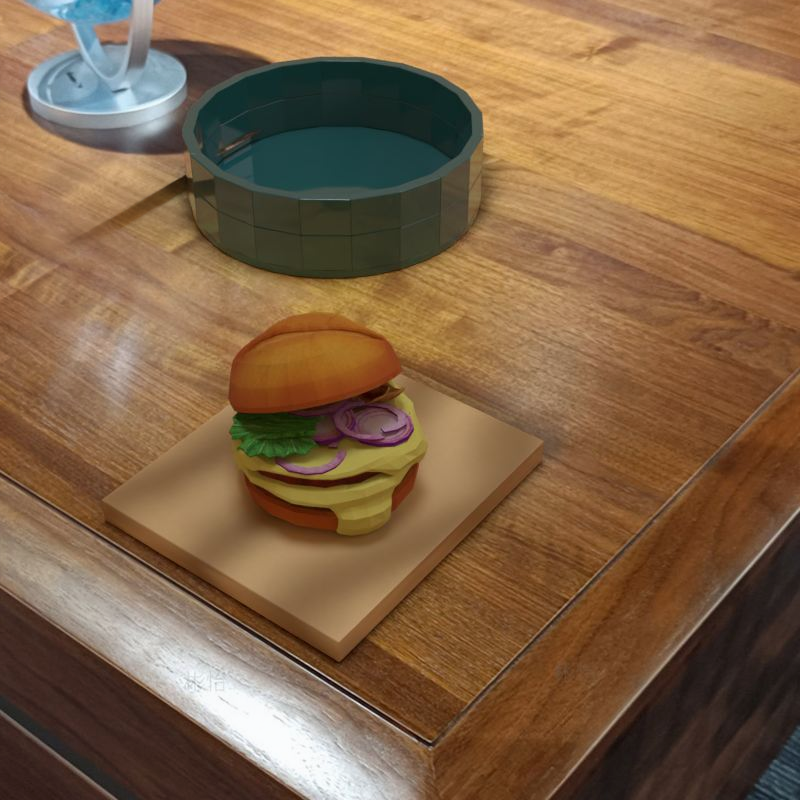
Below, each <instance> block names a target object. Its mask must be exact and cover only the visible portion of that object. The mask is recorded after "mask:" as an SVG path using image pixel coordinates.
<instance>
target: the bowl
mask: <svg viewBox="0 0 800 800" xmlns="http://www.w3.org/2000/svg"><path fill="white" fill-rule="evenodd" d="M483 115H484V114H483V112H482V111H481V109H480V108H479V106H477V104H476V103H475V101H474V100H473V98H472V97H471V96H470V95H469V93H468V92H467V91H466V90H464V89H463V88H461V87H459V86H458V85H456V84H455V83H453V82H451V81H450V80H448V79H447V78H445V77H443V76H442V75H439V74H437V73H434V72H431V71H428V70H426V69H422V68H419V67H417V66H413V65H411V64H408V63H404V62H400V61H399V62H398V61H392V60H386V59H377V58H372V57H365V56H313V57H305V58H298V59H291V60H284V61H277V62H276V61H275V62H272V63H269V64H265V65H262V66H259V67H256V68H253V69H249V70H246V71H242V72H239V73H237V74H235V75H233V76H231V77H230V78H227V79H225V80H224V81H222V82H220V83H218V84H216V85H214V86H213V87H210V88H208V89H207V91H205V92H204V93H203V95H201V96H200V98H198V99H197V101H195V102H194V103H193V104H192V105H191V106H190V107H189V108H188V110H187V114H186V117H185V120H184V124H183V127H182V129H181V136H182V137H181V139H182V148H183V157H184V164H185V165H184V167H185V175H186V184H187V193H188V201H189V203H190V206H191V212H192V217H193V219H194V221H195V224H196V226H197V228H198V229H199V231H200V232H201V233H202V235H203V236H204V237H205V238H206V239H207V240H208V241H209V242H210V244H212V245H213V246H215V247H216V248H217V249H219V250H220V251H221V252H223V253H224V254H226V255H228V256H230V257H231V258H234V259H236V260H237V261H239V262H242V263H245V264H248V265H249V266H253V267H255V268H259V269H262V270H265V271H269V272H273V273H277V274H283V275H289V276H295V277H305V278H318V279H344V278H346V279H347V278H359V277H367V276H374V275H375V276H376V275H379V274H385V273H391V272H395V271H397V270H398V271H399V270H401V269H405V268H408V267H411V266H414V265H417V264H419V263H422V262H424V261H427V260H428V259H432V258H433V257H435V256H437V255H439V254H441V253H442V252H444V251H446V250H447V249H449V248H450V247H453V245H454V244H455V243H456V242H458V241H459V240H460V239H461V238H462V237H463V236H465V234H466V233H467V232H468V231H469V230H470V228H471V227H472V225H473V224H474V221H475V220H476V218H477V216H478V213H479V208H480V205H481V202H482V184H483V183H482V182H483V164H484V163H483V162H484V161H483V160H484V140H485V139H484V138H485V137H484V136H485V132H484V117H483ZM254 133H255V134H254ZM251 134H253V135H251ZM249 135H251V136H249ZM247 136H249V137H248V138H246V139H245V137H247ZM242 139H245V140H242ZM240 140H242V141H241V142H239V143H237V144H235V143H236V142H238V141H240ZM233 144H235V145H234V146H232V147H230V148H228V147H229V146H231V145H233ZM226 148H228V149H227V150H224V149H226ZM223 150H224V152H222V151H223ZM221 152H222V153H221Z"/></svg>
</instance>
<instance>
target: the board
mask: <svg viewBox="0 0 800 800" xmlns="http://www.w3.org/2000/svg"><path fill="white" fill-rule="evenodd" d="M392 380H393V381H394V382H395V383H396V385H397V386H398V387H399V388H400V389H401V388H402V387H403V386H404V387H405V390H404V391H403V393H404V394H405V395H406V396H407V397H408V398H409V399H410V400H411V401H412V402H413V405H414V409H415V413H416V416H417V418H418V421H419V423H420V425H421V428H422V430H423V432H424V435H425V437H426V439H427V442H428V446H427V451H426V453H425V457H424V458H423V460H422V461H421V462H419V468H418V471H417V475H416V479H415V483H414V487H413V489H412V490H411V492H410V493H409V494H408V495H407V496H406V498H405V499H404V500H403V501H402V502H401V503H400V505H399V506H398V507H397V508H396V509H395V510H394V511H392V512H391V516H390V519H389V520H388V521H387V522H386V523H385V524H384V525H383V526H382V527H381V528H379V529H377V530H375V531H372V532H370V533H368V534H363V535H354V536H350V535H343V534H338V533H337V532H336V530H326V529H319V528H312V527H306V526H299V525H296V524H293V523H291V522H288V521H286V520H283V519H281V518H278V517H276V516H273V515H271V514H269V513H268V512H267V511H266V510H265V509H263V508H262V507H261V506H260V505H259V504H258V503H256V502H255V501H254V500H253V498H252V496H251V494H250V492H249V490H248V488H247V486H246V482H245V477H244V472H243V470H242V469H241V470H239V469H237V464H236V463H235V461H234V452H233V449H232V445H233V441H234V440H232V435H231V434H230V433H229V431H230V429H231V427H232V425H233V423H234V421H233V419H232V418H233V417H234V416H235V415H236V413H237V412H236V411H234V409H233V408H232V406H231V404H230V403H229V404H227V405H226V406H225V407H223V408H222V409H221V410H219V411H218V412H217V413H216V414H214V415H213V416H211V417H210V418H209V419H207V420H206V421H204V422H203V423H202V424H201V425H199V426H198V427H197V428H195V429H194V430H192V431H191V432H190V433H189V434H187V435H186V436H185V437H183V438H182V439H181V440H179V441H178V442H177V443H175V444H174V445H173V446H171V447H169V449H168V450H166V451H164V452H163V453H162V454H160V455H159V456H158V457H157V458H155V459H154V460H152V461H151V462H150V463H148V464H147V465H145V466H144V467H143V468H142V469H140V470H139V471H138V472H137V473H135V474H134V475H132V476H131V477H130V478H129V479H127V480H126V481H124V482H123V483H122V484H121V485H118V487H116V488H115V489H114V490H113V491H111V492H110V493H108V494H107V495H106V496H104V497H103V498H102V499H101V506H102V507H101V508H102V513H103V516H104V520H105V521H106V522H107V523H109V524H111V525H112V526H114V527H116V528H118V529H119V530H120V531H123V532H124V533H126V534H128V535H129V536H131V537H132V538H134V539H136V540H137V541H139V542H140V543H142V544H144V545H146V546H147V547H149V548H151V550H153V551H155V552H157V553H159V554H160V555H162V556H164V557H165V558H167V559H169V560H170V561H172V562H173V563H175V564H177V565H178V566H180V567H181V568H183V569H185V570H187V571H188V572H190V573H191V574H193V575H195V576H196V577H198V578H200V579H201V580H203V581H204V582H206V583H208V584H210V585H211V586H213V587H215V588H216V589H218V590H219V591H221V592H223V593H224V594H226V595H228V596H229V597H231V598H232V599H234V600H235V601H238V602H239V603H241V604H243V606H246V607H247V608H249V609H251V610H252V611H254V612H256V613H257V614H259V615H261V616H262V617H264V618H266V619H267V620H268V621H271V622H272V623H274V624H275V625H276V626H279V627H280V628H282V629H283V630H285V631H287V632H289V633H290V634H291V635H293V636H295V637H297V638H298V639H300V640H302V641H303V642H305V643H306V644H308V645H310V646H312V647H313V648H315V649H316V650H318V651H320V652H322V654H324V655H326V656H328V657H330V658H331V659H332V660H335V661H336V662H338V663H340V662H341V661H342V660H344V658H345V657H346V656H347V655H349V653H350V652H352V650H354V649H355V648H356V646H357V645H358V644H360V642H362V641H363V640H364V639H365V638H366V637H367V636H368V635H369V634H370V633H371V631H373V630H374V629H375V628H376V626H378V625H379V624H380V623H381V622H382V621H383V620H384V619H385V618H386V617H387V615H388V614H390V613H391V612H392V611H393V610H394V609H395V608H396V607H397V606H398V605H399V604H400V603H401V602H402V601H403V600H404V599H405V598H406V597H407V596H408V595H409V594H410V593H411V592H412V591H413V590H414V589H415V588H416V587H417V586H419V584H420V583H421V582H422V581H423V580H424V579H425V578H426V577H427V576H428V575H429V574H430V573H431V572H432V571H433V570H434V569H435V568H436V567H437V566H438V565H439V564H440V563H441V562H442V561H443V560H444V559H445V558H446V557H447V556H448V555H449V554H450V553H451V552H452V551H453V550H454V549H455V548H456V547H457V546H458V545H459V544H460V543H461V542H462V541H463V540H464V539H465V538H466V537H467V536H469V534H470V533H471V532H472V531H473V530H474V529H475V528H476V527H477V526H478V525H479V524H481V522H482V521H484V520H485V518H486V517H487V516H488V515H489V514H491V512H492V511H493V510H494V509H495V508H497V506H498V505H500V503H502V501H503V500H504V499H505V498H506V497H507V496H508V495H509V494H511V493H512V492H513V491H514V489H515V488H516V487H518V485H520V484H521V483H522V481H523V480H525V478H526V477H528V475H529V474H531V473H532V472H533V471H534V470H535V469H536V468H537V467H538V466H539V464H541V462H542V461H543V458H544V446H545V441H544V440H543V439H541V438H539V437H537V436H535V435H532V434H530V433H528V432H525V431H523V430H521V429H519V428H517V427H515V426H513V425H511V424H509V423H507V422H505V421H502V420H500V419H498V418H496V417H494V416H492V415H489V414H487V413H485V412H483V411H481V410H479V409H477V408H475V407H473V406H470V405H468V404H466V403H464V402H462V401H460V400H458V399H456V398H453V397H451V396H449V395H447V394H445V393H443V392H441V391H439V390H437V389H434V388H432V387H430V386H428V385H426V384H423V383H422V382H419V381H417V380H415V379H413V378H411V377H408V376H406V375H404V374H402V373H400V374H399V375H398V376H396V377H395V378H393V379H392Z"/></svg>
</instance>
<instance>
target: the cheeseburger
mask: <svg viewBox="0 0 800 800" xmlns="http://www.w3.org/2000/svg"><path fill="white" fill-rule="evenodd" d="M402 372H403V368H402V364H401V362H400V360H399V358H398V356H397V353H396V352H395V349H394V347H393V345H392V344H391V342H390V341H389V340H388V339H387V338H386V337H385V336H384V335H383V334H381V333H379V332H376V331H374V330H373V329H371V328H367V327H366V326H364V325H362V324H360V323H359V322H356V321H355V320H352V319H350V318H348V317H346V316H343V315H340V314H337V313H335V312H327V311H314V312H306V313H301V314H297V315H292V316H288V317H286V318H283V319H281V320H279V321H277V322H275V323H273V324H272V325H271V326H270V327H268V328H267V329H266V330H265V331H263V332H262V333H260V334H259V335H257V336H256V337H254V338H253V339H251V340H250V341H249V342H248V343H247V344H245V345H244V346H243V347H242V348H240V350H239V351H238V352H237V354H236V355H235V356H234V358H233V359H232V363H231V367H230V373H229V374H230V375H229V386H228V401H229V404H231V406H232V408H233V409H234V411H236V412H237V413H236V415H235V416H234V417H233V418H232V419H233V421H234V423H233V425H232V427H231V429H230V431H229V433H230V434H231V435H232V440H234V441H233V445H232V449H233V452H234V461H235V463H236V464H237V469H239V470H241V469H242V470H243V472H244V477H245V482H246V486H247V488H248V490H249V492H250V494H251V496H252V498H253V500H254V501H255V502H256V503H258V504H259V505H260V506H261V507H262V508H263V509H265V510H266V511H267V512H268V513H269V514H271V515H273V516H276V517H278V518H281V519H283V520H286V521H288V522H291V523H293V524H296V525H299V526H306V527H312V528H319V529H326V530H336V532H337V533H338V534H343V535H350V536H354V535H363V534H368V533H370V532H372V531H375V530H377V529H379V528H381V527H382V526H383V525H384V524H385V523H386V522H387V521H388V520H389V519H390V516H391V512H392V511H394V510H395V509H396V508H397V507H398V506H399V505H400V503H401V502H402V501H403V500H404V499H405V498H406V496H407V495H408V494H409V493H410V492H411V490H412V489H413V487H414V483H415V479H416V475H417V471H418V468H419V462H421V461H422V460H423V458H424V457H425V453H426V451H427V446H428V442H427V439H426V437H425V435H424V432H423V430H422V428H421V425H420V423H419V421H418V418H417V416H416V413H415V409H414V405H413V402H412V401H411V400H410V399H409V398H408V397H407V396H406V395H405V394H404V393H403V391H404V390H405V387H404V386H403V387H402V388H401V389H400V388H399V387H398V386H397V385H396V383H395V382H394V381H393V380H392V379H393V378H395V377H396V376H398V375H399V374H402Z"/></svg>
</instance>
